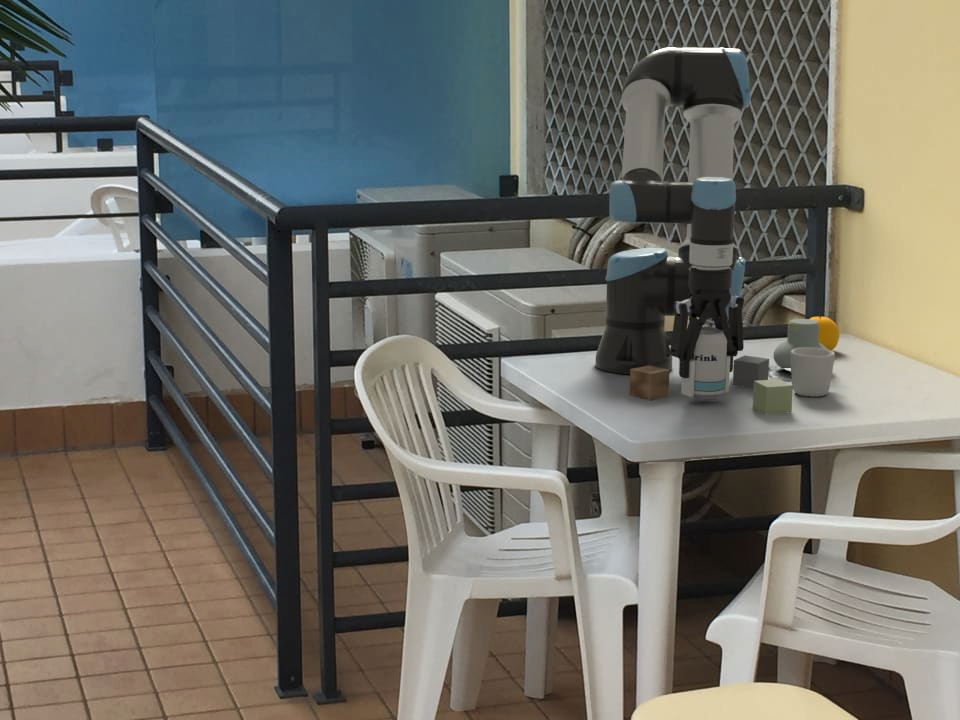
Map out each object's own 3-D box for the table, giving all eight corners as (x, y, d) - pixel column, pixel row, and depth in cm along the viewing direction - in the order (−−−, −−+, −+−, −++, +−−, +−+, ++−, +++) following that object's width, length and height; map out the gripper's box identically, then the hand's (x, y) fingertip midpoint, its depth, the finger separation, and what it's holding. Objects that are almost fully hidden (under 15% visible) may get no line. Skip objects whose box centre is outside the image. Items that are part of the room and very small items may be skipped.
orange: (817, 357, 302) (819, 321, 300) (791, 349, 308) (793, 314, 307) (846, 353, 306) (848, 317, 304) (819, 346, 312) (821, 311, 311)
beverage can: (681, 398, 262) (684, 332, 259) (690, 388, 268) (693, 324, 266) (720, 402, 260) (723, 336, 257) (728, 392, 266) (731, 327, 263)
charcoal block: (732, 386, 277) (733, 360, 276) (743, 380, 281) (744, 355, 280) (757, 389, 274) (758, 363, 273) (767, 384, 279) (769, 358, 277)
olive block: (752, 408, 261) (753, 380, 260) (777, 406, 263) (779, 379, 262) (765, 415, 257) (767, 387, 255) (791, 413, 258) (793, 385, 257)
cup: (807, 384, 279) (810, 342, 277) (846, 390, 274) (849, 348, 272) (780, 394, 271) (782, 352, 269) (820, 401, 266) (822, 358, 264)
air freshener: (787, 377, 284) (790, 327, 281) (765, 368, 291) (768, 319, 289) (836, 374, 287) (839, 323, 285) (814, 364, 295) (816, 316, 293)
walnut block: (629, 395, 269) (630, 369, 268) (648, 391, 273) (649, 365, 271) (650, 400, 266) (650, 373, 265) (668, 396, 269) (669, 369, 268)
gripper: (675, 274, 251) (670, 404, 256) (769, 265, 260) (762, 391, 265) (651, 267, 257) (647, 393, 263) (743, 258, 266) (737, 381, 272)
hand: (705, 392), depth 264 cm, fingers closed on beverage can, 7 cm apart
